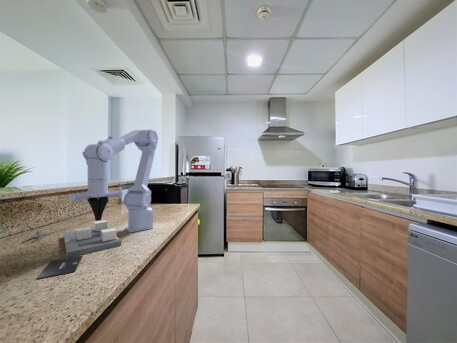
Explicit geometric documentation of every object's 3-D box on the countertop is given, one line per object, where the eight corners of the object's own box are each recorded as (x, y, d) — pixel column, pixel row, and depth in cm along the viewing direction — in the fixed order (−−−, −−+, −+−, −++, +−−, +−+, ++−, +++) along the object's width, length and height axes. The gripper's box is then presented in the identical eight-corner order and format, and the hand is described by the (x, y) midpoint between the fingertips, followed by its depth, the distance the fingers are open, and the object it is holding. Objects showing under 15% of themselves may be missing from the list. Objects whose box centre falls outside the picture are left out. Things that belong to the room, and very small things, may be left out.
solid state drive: (82, 257, 56) (82, 255, 56) (74, 273, 47) (74, 271, 47) (51, 263, 53) (51, 260, 53) (36, 281, 44) (36, 278, 44)
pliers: (71, 224, 88) (57, 237, 70) (71, 226, 88) (57, 240, 70) (42, 227, 83) (20, 242, 65) (42, 229, 83) (20, 245, 65)
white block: (114, 236, 68) (114, 227, 68) (116, 238, 66) (116, 230, 66) (100, 238, 66) (100, 230, 66) (102, 241, 63) (102, 232, 63)
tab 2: (105, 227, 79) (105, 220, 79) (107, 229, 76) (107, 221, 76) (94, 229, 76) (94, 221, 76) (95, 231, 74) (95, 223, 74)
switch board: (107, 229, 81) (107, 225, 81) (121, 245, 65) (121, 240, 65) (63, 237, 72) (63, 233, 72) (67, 257, 55) (67, 252, 55)
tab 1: (90, 235, 70) (90, 226, 70) (91, 237, 67) (91, 228, 67) (76, 237, 67) (76, 228, 67) (77, 240, 64) (77, 231, 64)
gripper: (118, 178, 73) (118, 214, 73) (68, 179, 62) (68, 221, 62) (124, 179, 68) (124, 217, 68) (71, 180, 57) (71, 226, 57)
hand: (98, 220), depth 65 cm, fingers closed
